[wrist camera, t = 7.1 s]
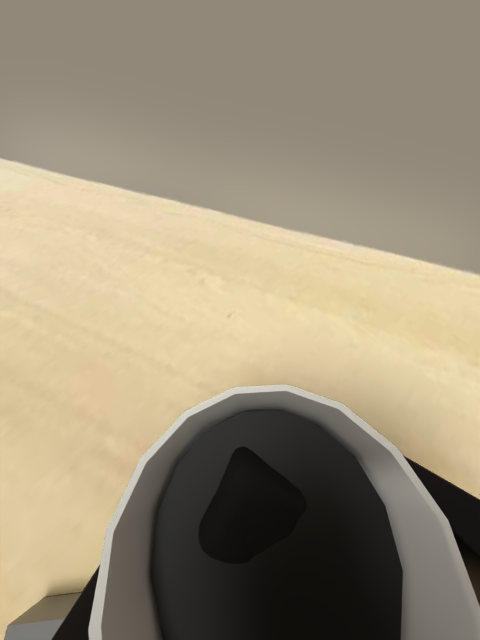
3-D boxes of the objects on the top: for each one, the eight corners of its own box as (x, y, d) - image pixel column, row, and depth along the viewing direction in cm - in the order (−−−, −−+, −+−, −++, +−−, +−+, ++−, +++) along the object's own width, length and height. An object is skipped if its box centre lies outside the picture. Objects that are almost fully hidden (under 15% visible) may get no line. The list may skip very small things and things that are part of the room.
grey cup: (182, 500, 13) (5, 655, 4) (243, 395, 15) (223, 337, 6) (290, 594, 11) (457, 1391, 2) (340, 455, 13) (515, 499, 4)
